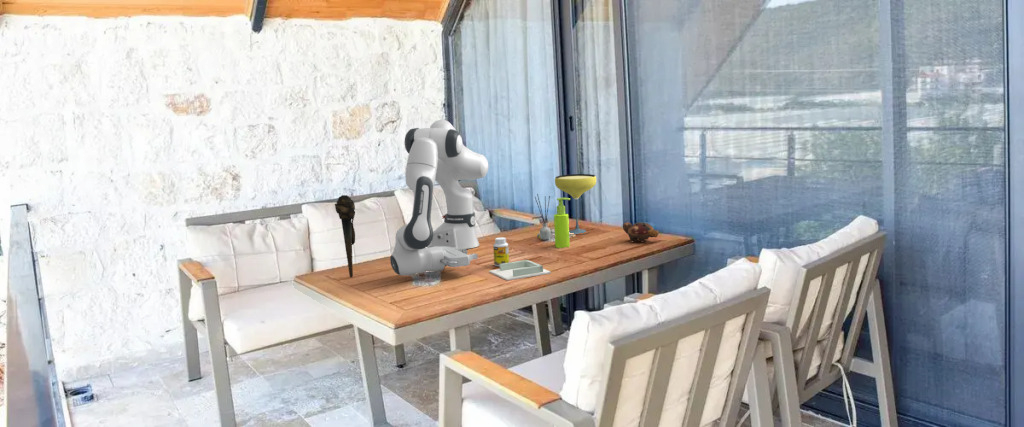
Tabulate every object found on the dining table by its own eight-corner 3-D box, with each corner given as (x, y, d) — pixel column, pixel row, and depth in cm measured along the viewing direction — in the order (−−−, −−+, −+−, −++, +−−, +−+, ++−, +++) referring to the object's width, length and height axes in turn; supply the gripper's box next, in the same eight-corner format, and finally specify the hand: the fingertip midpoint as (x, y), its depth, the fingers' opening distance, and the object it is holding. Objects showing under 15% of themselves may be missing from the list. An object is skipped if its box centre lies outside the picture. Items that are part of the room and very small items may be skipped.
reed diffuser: (556, 240, 340) (554, 193, 337) (543, 243, 336) (541, 195, 333) (541, 237, 348) (539, 191, 345) (529, 239, 344) (527, 193, 341)
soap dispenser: (571, 247, 323) (569, 198, 320) (554, 248, 325) (552, 199, 322) (573, 244, 329) (571, 196, 326) (556, 245, 331) (554, 197, 327)
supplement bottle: (491, 266, 298) (490, 239, 296) (498, 263, 302) (497, 236, 301) (504, 267, 295) (503, 240, 293) (511, 264, 300) (510, 237, 298)
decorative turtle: (626, 238, 337) (626, 219, 336) (661, 239, 331) (661, 220, 329) (619, 243, 329) (618, 223, 327) (655, 244, 322) (655, 225, 321)
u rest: (507, 280, 275) (506, 272, 275) (489, 272, 288) (488, 264, 288) (550, 273, 282) (550, 265, 282) (531, 265, 296) (531, 258, 295)
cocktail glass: (577, 227, 368) (575, 173, 364) (606, 231, 354) (604, 175, 350) (548, 233, 356) (546, 177, 352) (577, 238, 343) (575, 180, 339)
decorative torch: (352, 280, 287) (345, 197, 282) (337, 278, 290) (330, 196, 285) (364, 275, 293) (358, 194, 288) (349, 274, 296) (343, 193, 291)
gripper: (446, 255, 277) (482, 249, 283) (425, 245, 295) (460, 240, 301) (447, 273, 278) (483, 267, 284) (427, 262, 296) (461, 257, 302)
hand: (471, 253), depth 293 cm, fingers open, 8 cm apart
